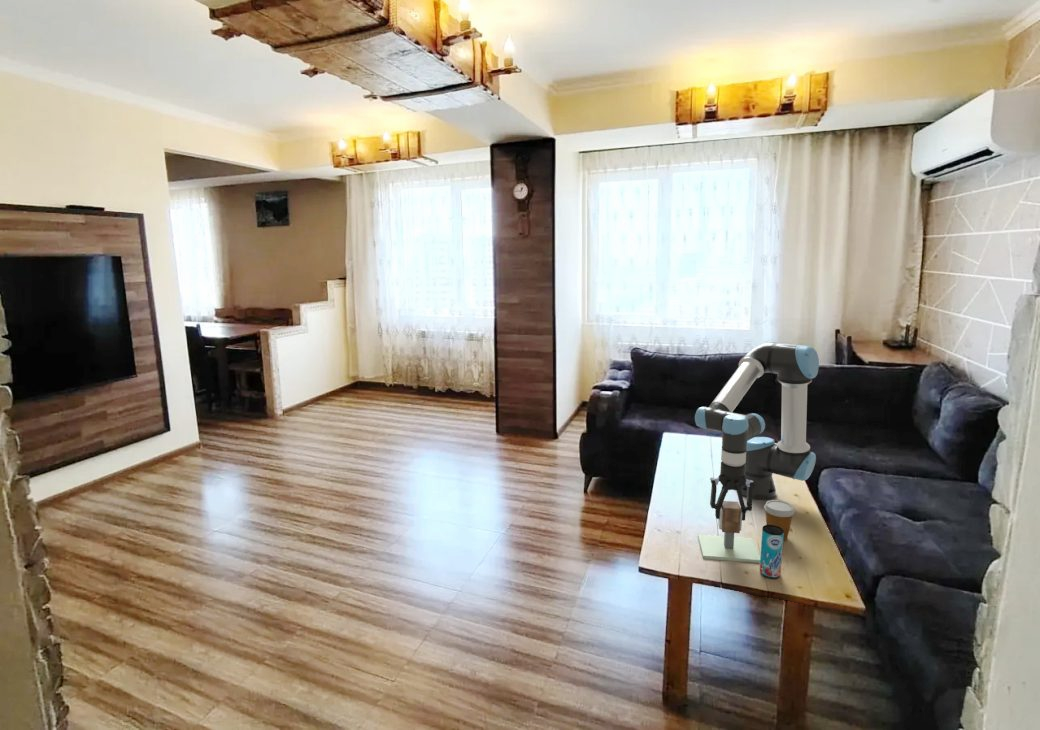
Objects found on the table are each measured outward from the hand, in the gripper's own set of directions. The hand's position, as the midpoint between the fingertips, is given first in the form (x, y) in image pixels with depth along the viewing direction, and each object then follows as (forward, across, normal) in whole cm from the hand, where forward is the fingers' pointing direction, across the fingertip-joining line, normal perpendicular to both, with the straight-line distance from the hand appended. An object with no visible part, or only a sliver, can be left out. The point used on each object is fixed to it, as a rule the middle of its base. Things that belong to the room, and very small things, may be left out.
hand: (729, 527), depth 179 cm
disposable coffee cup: (+8, -18, -11) cm, 23 cm away
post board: (+8, 0, 0) cm, 8 cm away
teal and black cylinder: (+8, -10, +13) cm, 18 cm away
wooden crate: (0, 0, 0) cm, 0 cm away
